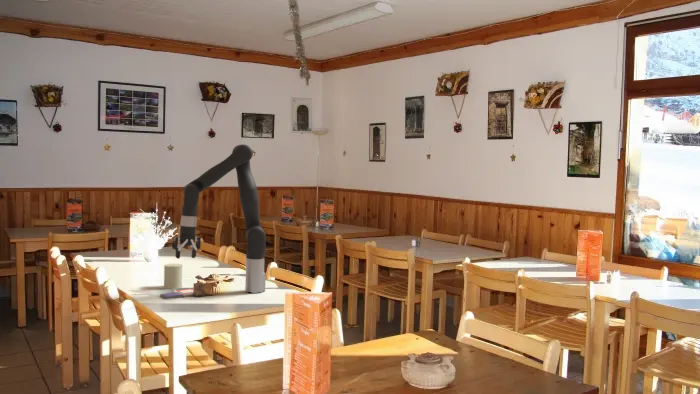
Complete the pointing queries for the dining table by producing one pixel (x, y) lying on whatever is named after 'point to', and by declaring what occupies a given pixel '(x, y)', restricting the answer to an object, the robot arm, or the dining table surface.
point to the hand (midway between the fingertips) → (185, 258)
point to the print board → (185, 291)
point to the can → (173, 276)
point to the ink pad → (171, 295)
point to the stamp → (199, 289)
